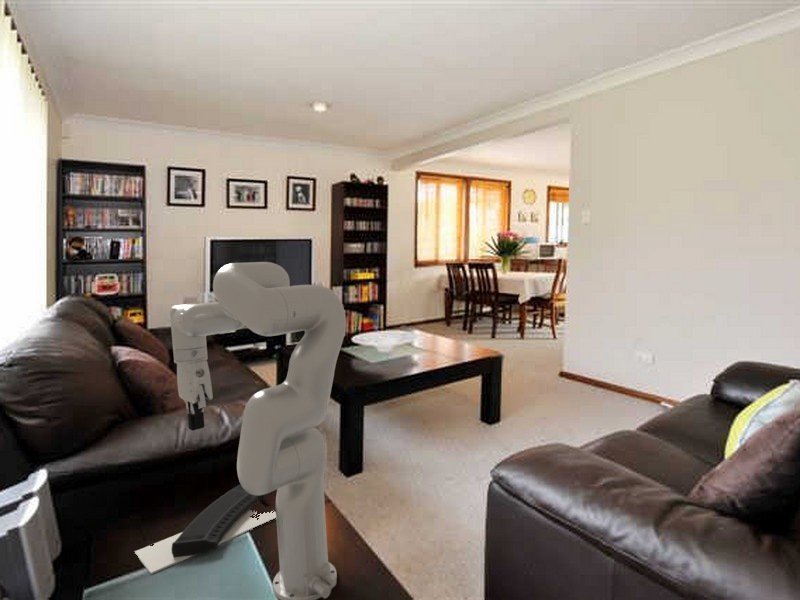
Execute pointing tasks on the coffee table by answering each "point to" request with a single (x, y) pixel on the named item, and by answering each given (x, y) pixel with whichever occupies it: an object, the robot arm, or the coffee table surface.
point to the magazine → (214, 523)
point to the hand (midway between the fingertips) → (196, 428)
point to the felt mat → (163, 557)
